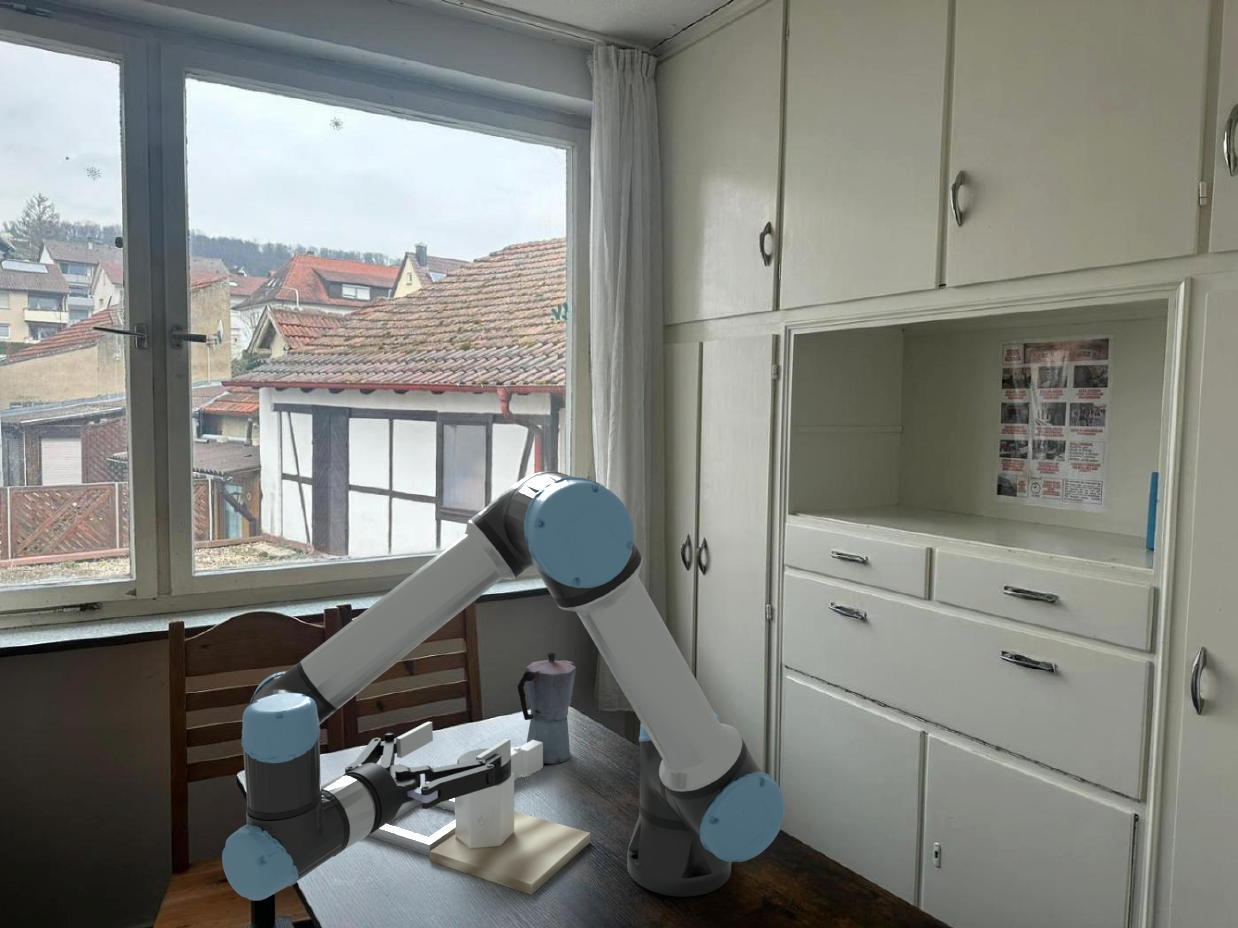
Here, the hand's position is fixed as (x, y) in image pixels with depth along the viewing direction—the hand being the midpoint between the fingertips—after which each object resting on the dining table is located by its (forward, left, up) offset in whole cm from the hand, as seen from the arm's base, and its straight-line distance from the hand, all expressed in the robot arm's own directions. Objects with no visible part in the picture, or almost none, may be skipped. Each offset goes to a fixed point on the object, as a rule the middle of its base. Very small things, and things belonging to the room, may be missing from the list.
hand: (468, 739), depth 119 cm
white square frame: (+17, -10, -21) cm, 29 cm away
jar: (+5, -10, -20) cm, 22 cm away
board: (0, -10, -21) cm, 23 cm away
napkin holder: (+14, -32, -22) cm, 41 cm away
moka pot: (+14, -41, -21) cm, 48 cm away
